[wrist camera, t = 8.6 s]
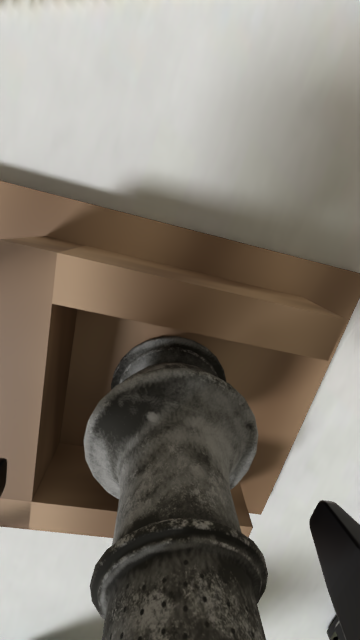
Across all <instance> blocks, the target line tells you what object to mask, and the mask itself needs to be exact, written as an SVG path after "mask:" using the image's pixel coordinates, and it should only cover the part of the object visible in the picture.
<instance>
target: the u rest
mask: <svg viewBox="0 0 360 640" xmlns="http://www.w3.org/2000/svg"><path fill="white" fill-rule="evenodd" d="M359 298H360V273H357V272H353V271H349V270H345V269H341V268H337V267H333V266H329V265H326V264H322V263H318V262H314V261H310V260H306V259H302V258H298V257H294V256H291V255H287V254H283V253H279V252H275V251H271V250H267V249H263V248H260V247H256V246H252V245H248V244H244V243H240V242H236V241H232V240H228V239H225V238H221V237H217V236H213V235H209V234H205V233H201V232H197V231H194V230H190V229H186V228H182V227H178V226H174V225H170V224H166V223H162V222H159V221H155V220H151V219H147V218H143V217H139V216H135V215H131V214H128V213H124V212H120V211H116V210H112V209H108V208H104V207H100V206H96V205H93V204H89V203H85V202H81V201H77V200H73V199H69V198H65V197H62V196H58V195H54V194H50V193H46V192H42V191H38V190H34V189H30V188H27V187H23V186H19V185H15V184H11V183H7V182H3V181H0V458H5V459H7V477H6V485H5V488H4V491H3V493H2V495H1V497H0V526H1V527H11V528H21V529H30V530H40V531H50V532H60V533H69V534H79V535H89V536H99V537H108V538H113V536H114V530H115V523H116V517H117V510H118V504H119V499H117V498H116V497H114V496H113V495H111V494H110V493H108V492H107V491H106V490H105V489H104V488H103V487H102V486H101V485H100V483H99V482H98V481H97V480H96V479H95V478H94V477H93V475H92V472H91V470H90V468H89V466H88V464H87V462H86V459H85V450H84V436H85V432H86V427H87V423H88V420H89V418H90V416H91V414H92V413H93V411H94V409H95V408H96V406H97V404H98V403H99V401H100V400H101V399H102V398H103V397H104V396H105V395H107V394H108V393H109V392H110V391H111V383H112V378H113V374H114V371H115V369H116V367H117V366H118V364H119V362H120V360H121V359H122V358H123V357H124V356H125V355H126V354H127V353H128V352H129V351H130V350H131V349H132V348H134V347H135V346H137V345H139V344H141V343H143V342H144V341H146V340H150V339H154V338H158V337H162V336H179V337H183V338H187V339H191V340H194V341H196V342H198V343H200V344H201V345H203V346H205V347H207V348H208V349H209V350H210V351H211V352H212V353H213V354H214V355H215V356H216V357H217V359H218V360H219V362H220V364H221V366H222V367H223V369H224V373H225V377H226V382H227V383H229V384H230V385H231V386H233V387H234V388H235V389H236V390H237V391H238V392H239V393H240V394H241V395H242V396H243V397H244V398H245V400H246V401H247V403H248V405H249V407H250V408H251V410H252V412H253V414H254V416H255V419H256V424H257V430H258V443H257V451H256V455H255V457H254V459H253V461H252V463H251V466H250V468H249V470H248V471H247V473H246V474H245V475H244V476H243V478H242V479H241V480H240V481H239V482H238V484H237V485H236V486H235V487H234V488H232V489H231V490H230V491H231V495H232V499H233V502H234V506H235V510H236V514H237V517H238V521H239V525H240V529H241V532H242V534H244V535H245V536H247V537H249V535H250V533H251V530H252V528H253V526H252V523H251V519H250V516H249V513H253V514H261V513H262V511H263V509H264V507H265V505H266V502H267V500H268V498H269V496H270V494H271V491H272V489H273V487H274V485H275V483H276V480H277V478H278V476H279V474H280V472H281V469H282V467H283V465H284V463H285V461H286V458H287V456H288V454H289V452H290V450H291V447H292V445H293V443H294V441H295V439H296V436H297V434H298V432H299V430H300V428H301V425H302V423H303V421H304V419H305V417H306V414H307V412H308V410H309V408H310V406H311V403H312V401H313V399H314V397H315V395H316V392H317V390H318V388H319V386H320V384H321V381H322V379H323V377H324V375H325V373H326V370H327V368H328V366H329V364H330V362H331V359H332V357H333V355H334V353H335V351H336V348H337V346H338V344H339V342H340V340H341V337H342V335H343V333H344V331H345V329H346V326H347V324H348V322H349V320H350V318H351V315H352V313H353V311H354V309H355V307H356V305H357V302H358V300H359Z"/></svg>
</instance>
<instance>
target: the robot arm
mask: <svg viewBox="0 0 360 640" xmlns="http://www.w3.org/2000/svg"><path fill="white" fill-rule="evenodd" d="M6 477H7V459H5V458H0V497H1V495H2V493H3V491H4V488H5V485H6ZM310 530H311V533H312V537H313V540H314V544H315V547H316V551H317V554H318V558H319V561H320V565H321V568H322V572H323V575H324V579H325V582H326V585H327V588H328V592H329V595H330V597H331V600H332V603H333V606H334V609H335V611H336V614H337V617H336V619H335V620H334V621H333V623H332V624H331V626H330V627H329V629H328V630H327V634H328V637H329V639H330V640H360V525H359V524H358V523H357V522H356V521H355V520H354V519H353V518H352V517H351V516H350V515H348V514H347V513H346V512H345V511H344V510H343V509H342V508H341V507H340V506H339V505H337V504H336V503H334V502H331V501H324V500H322V501H320V502H319V503H318V505H317V506H316V508H315V510H314V512H313V514H312V516H311V518H310Z"/></svg>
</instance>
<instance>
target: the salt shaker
mask: <svg viewBox="0 0 360 640" xmlns="http://www.w3.org/2000/svg"><path fill="white" fill-rule="evenodd" d="M257 443H258V430H257V424H256V419H255V416H254V414H253V412H252V410H251V408H250V407H249V405H248V403H247V401H246V400H245V398H244V397H243V396H242V395H241V394H240V393H239V392H238V391H237V390H236V389H235V388H234V387H233V386H231V385H230V384H229V383H227V382H226V377H225V373H224V369H223V367H222V366H221V364H220V362H219V360H218V359H217V357H216V356H215V355H214V354H213V353H212V352H211V351H210V350H209V349H208V348H207V347H205V346H203V345H201V344H200V343H198V342H196V341H194V340H191V339H187V338H183V337H179V336H162V337H158V338H154V339H150V340H146V341H144V342H143V343H141V344H139V345H137V346H135V347H134V348H132V349H131V350H130V351H129V352H128V353H127V354H126V355H125V356H124V357H123V358H122V359H121V360H120V362H119V364H118V366H117V367H116V369H115V371H114V374H113V378H112V383H111V391H110V392H109V393H108V394H107V395H105V396H104V397H103V398H102V399H101V400H100V401H99V403H98V404H97V406H96V408H95V409H94V411H93V413H92V414H91V416H90V418H89V420H88V423H87V427H86V432H85V436H84V450H85V459H86V462H87V464H88V466H89V468H90V470H91V472H92V475H93V477H94V478H95V479H96V480H97V481H98V482H99V483H100V485H101V486H102V487H103V488H104V489H105V490H106V491H107V492H108V493H110V494H111V495H113V496H114V497H116V498H117V499H119V504H118V510H117V517H116V523H115V530H114V536H113V543H112V546H111V547H110V548H108V549H107V550H106V551H105V553H104V554H103V556H102V557H101V558H100V560H99V561H98V562H97V564H96V565H95V569H94V572H93V576H92V579H91V583H90V590H91V597H92V602H93V604H94V605H95V607H96V609H97V610H98V612H99V614H100V615H101V617H102V618H103V619H105V623H104V630H103V637H102V640H266V638H265V634H264V630H263V626H262V623H261V619H260V615H259V611H258V607H257V603H258V602H259V600H260V598H261V596H262V594H263V593H264V591H265V588H266V583H267V577H268V572H267V568H266V564H265V559H264V556H263V554H262V552H261V551H260V550H259V548H258V547H257V546H256V544H255V543H254V541H252V540H251V539H250V538H248V537H247V536H245V535H244V534H242V532H241V529H240V525H239V521H238V517H237V514H236V510H235V506H234V502H233V499H232V495H231V491H230V490H231V489H232V488H234V487H235V486H236V485H237V484H238V482H239V481H240V480H241V479H242V478H243V476H244V475H245V474H246V473H247V471H248V470H249V468H250V466H251V463H252V461H253V459H254V457H255V455H256V451H257Z"/></svg>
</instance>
